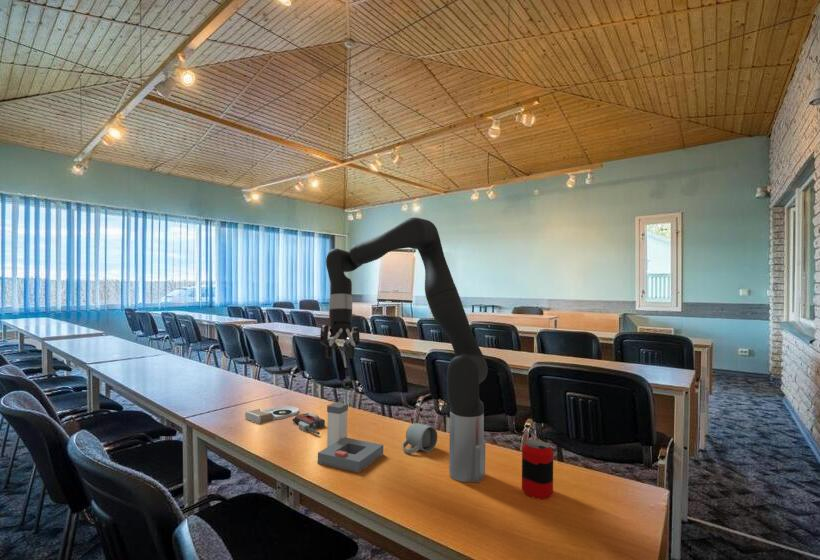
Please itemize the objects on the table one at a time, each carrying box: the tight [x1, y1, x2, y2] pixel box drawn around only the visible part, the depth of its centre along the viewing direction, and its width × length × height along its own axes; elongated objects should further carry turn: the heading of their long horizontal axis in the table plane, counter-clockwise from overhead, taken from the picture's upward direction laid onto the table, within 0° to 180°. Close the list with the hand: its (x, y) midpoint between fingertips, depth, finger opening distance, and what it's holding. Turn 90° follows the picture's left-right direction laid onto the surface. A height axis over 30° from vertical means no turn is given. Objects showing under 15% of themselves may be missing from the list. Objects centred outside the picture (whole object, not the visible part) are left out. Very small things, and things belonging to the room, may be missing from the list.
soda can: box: [521, 439, 554, 500], centre depth 105 cm, size 8×8×12 cm
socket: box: [317, 437, 384, 474], centre depth 123 cm, size 14×14×4 cm
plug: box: [326, 401, 349, 447], centre depth 134 cm, size 5×5×13 cm
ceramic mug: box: [402, 422, 438, 455], centre depth 131 cm, size 11×8×8 cm
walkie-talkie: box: [292, 412, 326, 435], centre depth 150 cm, size 9×4×20 cm
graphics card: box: [244, 405, 300, 425], centre depth 164 cm, size 12×3×20 cm
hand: (340, 358), depth 134 cm, fingers open, 8 cm apart
